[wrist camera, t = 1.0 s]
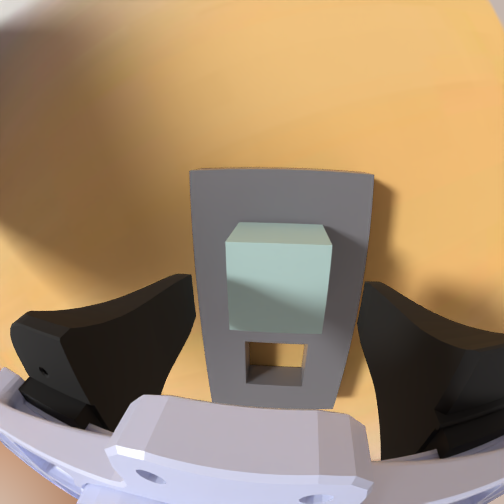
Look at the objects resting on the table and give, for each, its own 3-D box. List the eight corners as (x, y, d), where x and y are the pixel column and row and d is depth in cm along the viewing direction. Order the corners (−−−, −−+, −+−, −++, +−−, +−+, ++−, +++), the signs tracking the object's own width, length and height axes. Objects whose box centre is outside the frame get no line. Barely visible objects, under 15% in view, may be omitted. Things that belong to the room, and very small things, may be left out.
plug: (313, 280, 18) (321, 333, 13) (246, 277, 19) (229, 329, 13) (317, 214, 17) (332, 245, 11) (245, 212, 17) (225, 241, 12)
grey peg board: (330, 390, 22) (332, 408, 19) (217, 384, 23) (212, 402, 21) (363, 172, 15) (374, 174, 13) (201, 168, 17) (189, 170, 15)
